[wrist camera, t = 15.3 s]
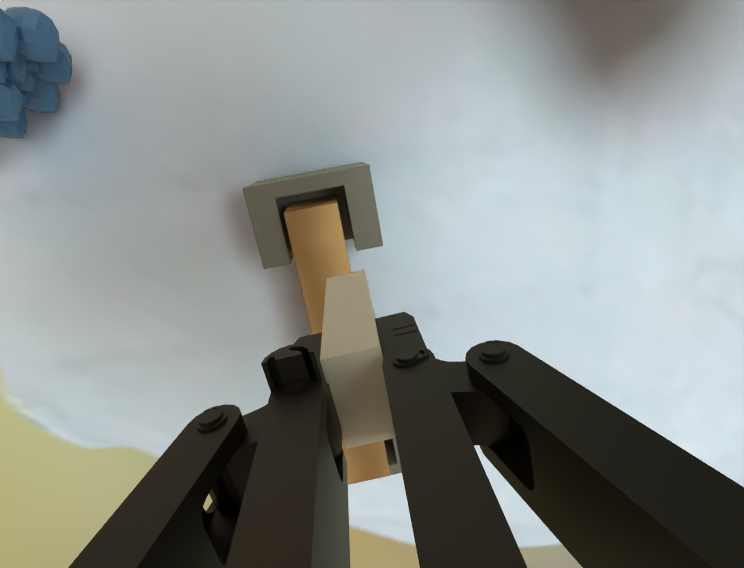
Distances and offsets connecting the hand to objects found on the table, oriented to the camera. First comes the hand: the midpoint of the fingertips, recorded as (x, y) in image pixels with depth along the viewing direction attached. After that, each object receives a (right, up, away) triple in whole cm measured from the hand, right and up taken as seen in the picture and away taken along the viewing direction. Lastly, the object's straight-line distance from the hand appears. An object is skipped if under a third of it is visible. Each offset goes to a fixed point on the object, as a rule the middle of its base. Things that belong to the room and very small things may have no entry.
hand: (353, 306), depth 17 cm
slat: (-2, -3, +20) cm, 20 cm away
